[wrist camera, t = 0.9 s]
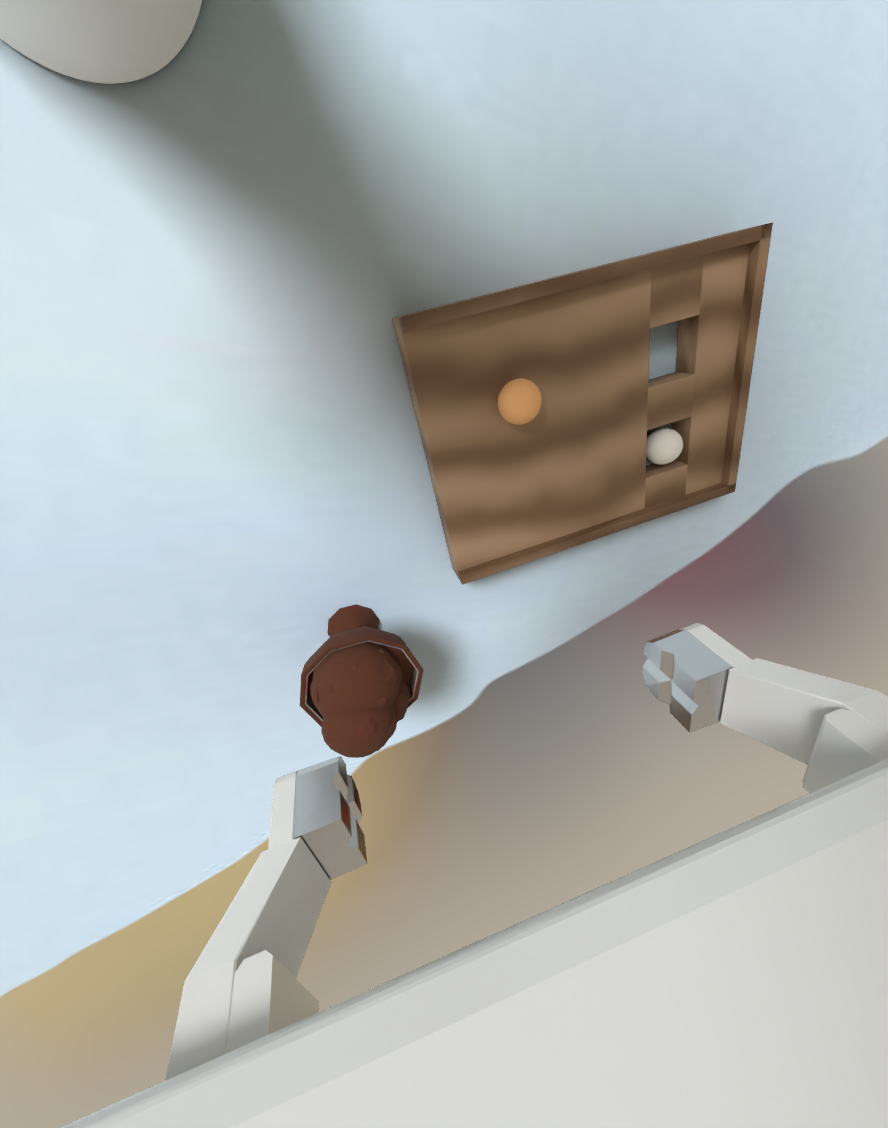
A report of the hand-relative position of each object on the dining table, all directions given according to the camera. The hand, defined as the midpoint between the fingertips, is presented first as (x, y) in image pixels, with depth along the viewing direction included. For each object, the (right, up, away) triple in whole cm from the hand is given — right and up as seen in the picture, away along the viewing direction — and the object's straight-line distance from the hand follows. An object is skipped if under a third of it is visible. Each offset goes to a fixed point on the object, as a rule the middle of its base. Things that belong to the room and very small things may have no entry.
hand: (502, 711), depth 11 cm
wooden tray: (+12, +18, +32) cm, 39 cm away
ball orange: (+5, +17, +25) cm, 31 cm away
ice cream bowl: (-11, -3, +36) cm, 38 cm away
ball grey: (+21, +16, +34) cm, 43 cm away
